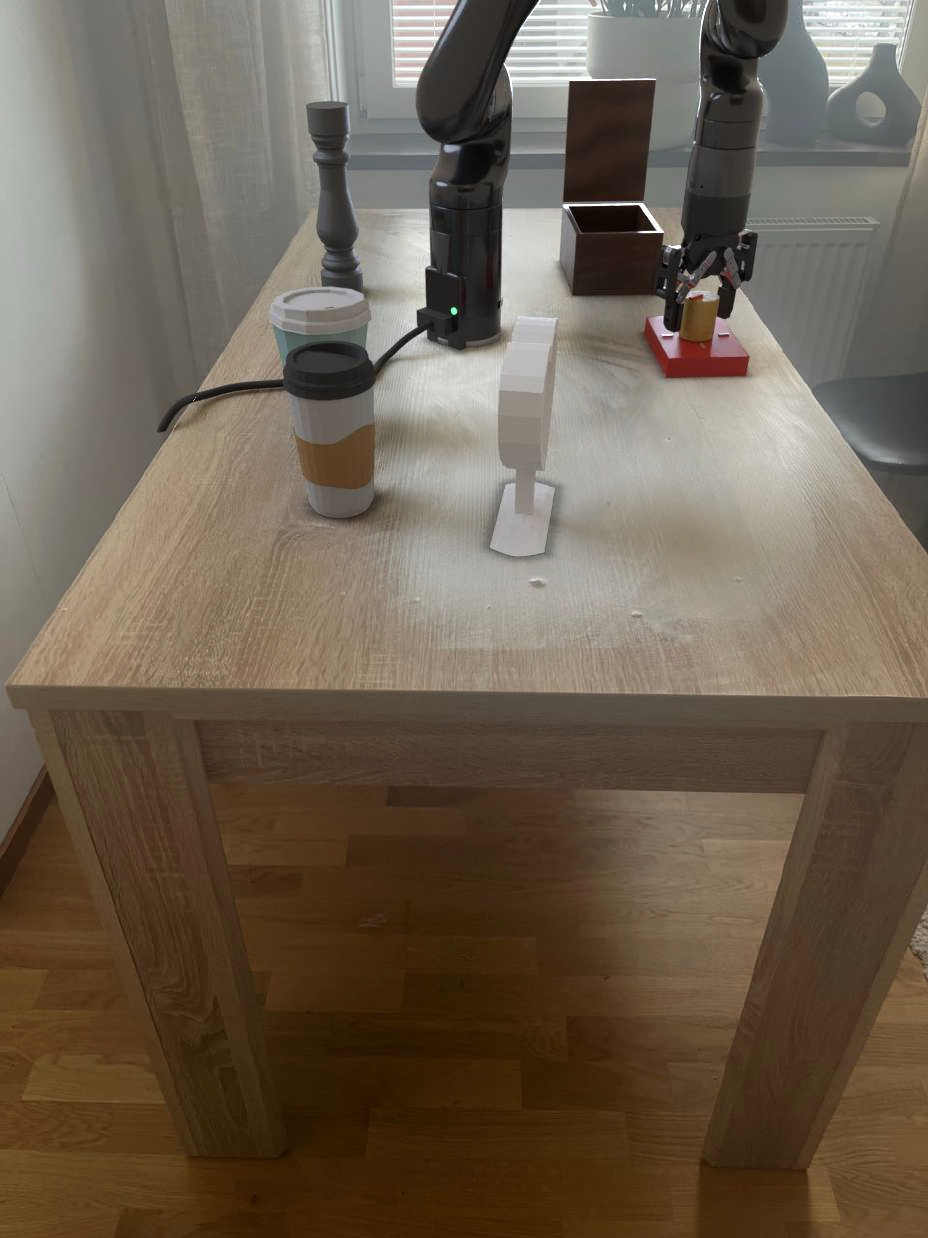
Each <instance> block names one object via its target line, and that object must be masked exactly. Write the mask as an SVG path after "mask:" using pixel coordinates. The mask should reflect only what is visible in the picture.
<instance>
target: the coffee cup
mask: <svg viewBox="0 0 928 1238" xmlns="http://www.w3.org/2000/svg"><path fill="white" fill-rule="evenodd" d="M282 377H283V378H282V379H283V386H284V387H283V389H284V390H285V391H286V394H287V399H288V404H289V409H290V414H291V419H292V425H293V426H292V430H293V435H294V439H295V444H296V449H297V453H298V459H299V463H300V468H301V469H300V470H301V473H302V476H303V478H304V484H305V488H306V494H307V498H308V503H309V504H310V506H311V507H312V509H313V510H314V511H315V512H316V513H317V514H319V515H321V516H323V517H326V518H332V519H344V518H345V519H346V518H351V517H355V516H358V515H361V514H363V513H365V511H367V510H368V509H369V507H370V506H371V504H372V501H374V496H375V468H376V464H375V462H376V461H375V460H376V453H375V452H376V449H375V448H376V445H375V444H376V435H375V434H376V423H375V384H376V380H377V377H376V375H375V374H374V364H373V361H372V360H371V359H370V357H369V353H368V350H367V349H364V348H363V347H362V346H360V345H357V344H354V343H350V342H345V341H318V342H313V343H308V344H305V345H302V346H299V347H297V348H295V349H293V350H292V351H290V352H289V353H288V354H287V357H286V365H285V366H284V368H283V367H282Z"/></svg>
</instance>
